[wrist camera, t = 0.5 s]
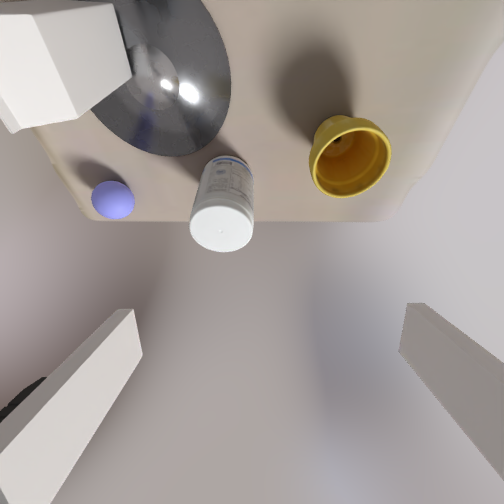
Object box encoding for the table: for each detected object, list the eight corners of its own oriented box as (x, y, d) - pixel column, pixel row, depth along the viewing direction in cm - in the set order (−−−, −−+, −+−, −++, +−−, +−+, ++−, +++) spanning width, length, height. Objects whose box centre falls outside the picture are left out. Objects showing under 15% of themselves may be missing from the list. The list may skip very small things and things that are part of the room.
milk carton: (113, 2, 28) (-9, 20, 15) (133, 77, 33) (55, 136, 20) (50, -2, 28) (-127, 12, 15) (80, 73, 33) (-31, 131, 20)
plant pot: (380, 101, 35) (408, 128, 29) (355, 167, 43) (373, 200, 36) (310, 98, 35) (322, 125, 29) (297, 164, 43) (304, 197, 36)
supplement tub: (230, 206, 50) (224, 261, 40) (192, 177, 45) (174, 232, 35) (264, 177, 45) (267, 232, 35) (225, 140, 40) (215, 192, 30)
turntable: (29, 54, 32) (27, 54, 31) (129, -123, 22) (127, -124, 22) (163, 177, 45) (162, 178, 45) (261, 101, 35) (261, 102, 35)
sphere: (102, 197, 49) (85, 220, 44) (100, 167, 44) (81, 189, 39) (138, 208, 51) (126, 231, 46) (140, 181, 46) (127, 203, 41)
